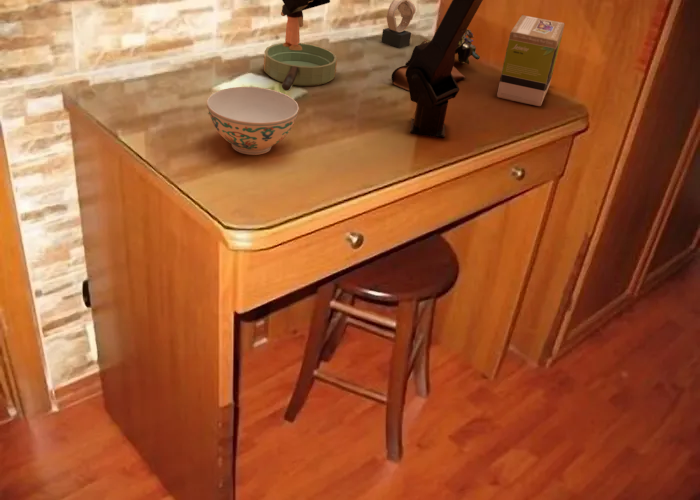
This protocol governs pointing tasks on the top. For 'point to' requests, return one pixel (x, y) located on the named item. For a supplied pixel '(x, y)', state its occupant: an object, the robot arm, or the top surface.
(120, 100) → the top surface
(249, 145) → the chinaware
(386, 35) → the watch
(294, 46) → the grandmother figurine
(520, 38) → the tea box
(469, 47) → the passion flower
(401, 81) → the sunglasses case
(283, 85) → the pan handle
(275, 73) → the pan
